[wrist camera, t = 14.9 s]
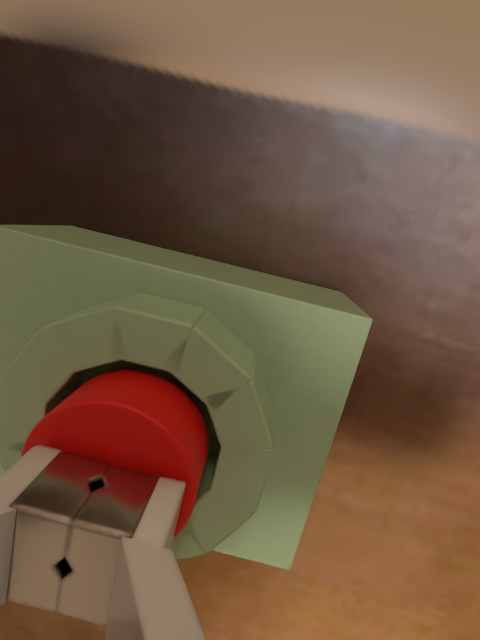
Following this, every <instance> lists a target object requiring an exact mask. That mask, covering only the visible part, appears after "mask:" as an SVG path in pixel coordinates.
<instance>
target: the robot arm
mask: <svg viewBox="0 0 480 640" xmlns="http://www.w3.org/2000/svg"><path fill="white" fill-rule="evenodd" d="M185 486H186V484H185V482H184V481H179V480H175V479H171V478H166V477H162V476H161V477H158V476H154V475H150V474H146V473H142V472H138V471H134V470H130V469H126V468H122V467H118V466H114V465H112V464H109V463H105V462H102V461H98V460H94V459H91V458H87V457H84V456H80V455H77V454H73V453H70V452H66V451H64V452H63V451H62V450H58V449H55V448H51V447H47V446H43V445H37V446H34V447H32V448H31V449H30V450H29V451H28V452H27V453H26V454H24V455H23V456H22V457H21V458H20V459H19V460H18V461H17V462H16V463H14V464H13V465H12V466H11V467H10V468H9V469H8V470H7V471H6V472H5V473H3V474H2V475H1V476H0V607H2V606H3V605H5V604H6V600H7V601H11V602H16V603H20V604H24V605H29V606H33V607H37V608H42V609H46V610H50V611H55V612H58V613H62V614H65V615H68V616H71V617H75V618H78V619H81V620H85V621H88V622H91V623H95V624H98V625H101V626H104V634H105V640H206V639H205V637H204V634H203V631H202V628H201V626H200V623H199V620H198V618H197V615H196V612H195V609H194V607H193V604H192V601H191V599H190V596H189V593H188V590H187V588H186V585H185V582H184V579H183V577H182V574H181V571H180V569H179V566H178V563H177V560H176V558H175V555H174V552H173V550H171V545H172V542H173V538H174V534H175V530H176V525H177V521H178V517H179V513H180V509H181V504H182V500H183V496H184V492H185Z"/></svg>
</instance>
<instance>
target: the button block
mask: <svg viewBox="0 0 480 640" xmlns="http://www.w3.org/2000/svg"><path fill="white" fill-rule="evenodd" d="M372 321H373V319H372V318H371V317H370V316H368V315H367V314H366V313H365V312H364V311H363V310H362V309H360V308H359V307H358V306H357V305H356V304H355V303H354V302H353V301H351V300H350V299H349V298H348V297H347V296H346V295H345V294H343V293H342V292H340V291H336V290H332V289H328V288H324V287H320V286H315V285H311V284H307V283H303V282H299V281H295V280H291V279H287V278H283V277H279V276H275V275H271V274H267V273H262V272H258V271H254V270H250V269H246V268H242V267H238V266H234V265H230V264H226V263H222V262H218V261H214V260H210V259H205V258H201V257H197V256H193V255H189V254H185V253H181V252H177V251H173V250H169V249H165V248H161V247H157V246H153V245H148V244H144V243H140V242H136V241H132V240H128V239H124V238H120V237H116V236H112V235H108V234H104V233H100V232H95V231H91V230H87V229H83V228H79V227H75V226H62V225H0V476H1V475H2V474H3V473H5V472H6V471H7V470H8V469H9V468H10V467H11V466H12V465H13V464H14V463H16V462H17V461H18V460H19V459H20V458H21V454H22V450H23V447H24V444H25V442H26V439H27V438H28V436H29V434H30V432H31V431H32V429H33V428H34V427H35V425H36V424H37V423H38V422H39V421H40V420H41V419H42V418H43V417H44V416H46V415H47V414H48V413H49V412H50V411H52V410H53V409H54V408H55V407H56V406H58V405H59V404H60V403H61V402H62V401H63V400H65V399H66V398H67V397H68V396H69V395H71V394H72V393H73V392H74V391H75V390H77V389H78V388H79V387H80V386H81V385H83V384H84V383H85V382H87V381H88V380H90V379H91V378H93V377H95V376H97V375H100V374H103V373H106V372H109V371H115V370H125V369H128V370H140V371H145V372H149V373H152V374H156V375H158V376H160V377H163V378H165V379H167V380H168V381H170V382H172V383H173V384H175V385H176V386H178V387H179V388H180V389H181V390H183V391H184V392H185V393H186V394H187V395H188V396H189V397H190V399H191V400H192V401H193V402H194V404H195V405H196V407H197V408H198V410H199V412H200V413H201V415H202V418H203V420H204V422H205V426H206V429H207V434H208V454H207V460H206V463H205V467H204V471H203V475H202V478H201V482H200V486H199V489H198V493H197V497H196V501H195V504H194V507H193V511H192V514H191V516H190V518H189V520H188V522H187V523H186V525H185V526H184V528H183V529H182V530H181V532H180V533H179V534H178V535H177V536H176V537H175V538H174V539H173V542H172V545H171V550H173V552H174V555H175V558H176V560H180V559H186V558H191V557H196V556H201V555H205V554H206V553H209V552H210V551H211V550H213V551H216V552H220V553H224V554H228V555H232V556H236V557H240V558H244V559H248V560H251V561H255V562H259V563H263V564H267V565H271V566H275V567H279V568H283V569H286V570H290V568H291V565H292V562H293V559H294V556H295V553H296V550H297V547H298V544H299V541H300V538H301V535H302V532H303V529H304V526H305V523H306V520H307V517H308V514H309V511H310V508H311V505H312V502H313V499H314V496H315V493H316V490H317V487H318V484H319V481H320V478H321V475H322V472H323V469H324V466H325V463H326V460H327V457H328V454H329V451H330V448H331V445H332V442H333V439H334V436H335V433H336V430H337V427H338V424H339V421H340V417H341V414H342V411H343V408H344V405H345V402H346V399H347V396H348V393H349V390H350V387H351V384H352V381H353V378H354V375H355V372H356V369H357V366H358V363H359V360H360V357H361V354H362V351H363V348H364V345H365V342H366V339H367V336H368V333H369V330H370V327H371V324H372Z"/></svg>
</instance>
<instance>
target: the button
mask: <svg viewBox="0 0 480 640" xmlns="http://www.w3.org/2000/svg"><path fill="white" fill-rule="evenodd" d="M37 445H43V446H47V447H51V448H55V449H58V450H62V451H63V452H64V451H66V452H70V453H73V454H77V455H80V456H84V457H87V458H91V459H94V460H98V461H102V462H105V463H109V464H112V465H114V466H118V467H122V468H126V469H130V470H134V471H138V472H142V473H146V474H150V475H154V476H158V477H161V476H162V477H166V478H171V479H175V480H179V481H184V482H185V484H186V486H185V492H184V496H183V500H182V504H181V509H180V513H179V517H178V521H177V525H176V530H175V534H174V538H175V537H176V536H177V535H178V534H179V533H180V532H181V530H182V529H183V528H184V526H185V525H186V523H187V522H188V520H189V518H190V516H191V514H192V511H193V507H194V504H195V501H196V497H197V493H198V489H199V486H200V482H201V478H202V475H203V471H204V467H205V463H206V460H207V454H208V434H207V429H206V426H205V422H204V420H203V418H202V415H201V413H200V412H199V410H198V408H197V407H196V405H195V404H194V402H193V401H192V400H191V399H190V397H189V396H188V395H187V394H186V393H185V392H184V391H183V390H181V389H180V388H179V387H178V386H176V385H175V384H173V383H172V382H170V381H168V380H167V379H165V378H163V377H160V376H158V375H156V374H152V373H149V372H145V371H140V370H128V369H125V370H115V371H109V372H106V373H103V374H100V375H97V376H95V377H93V378H91V379H90V380H88V381H87V382H85V383H84V384H83V385H81V386H80V387H79V388H78V389H77V390H75V391H74V392H73V393H72V394H71V395H69V396H68V397H67V398H66V399H65V400H63V401H62V402H61V403H60V404H59V405H58V406H56V407H55V408H54V409H53V410H52V411H50V412H49V413H48V414H47V415H46V416H44V417H43V418H42V419H41V420H40V421H39V422H38V423H37V424H36V425H35V427H34V428H33V429H32V431H31V432H30V434H29V436H28V438H27V439H26V442H25V444H24V447H23V450H22V454H21V457H22V456H23V455H24V454H26V453H27V452H28V451H29V450H30V449H31V448H32V447H34V446H37ZM174 538H173V539H174Z"/></svg>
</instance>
